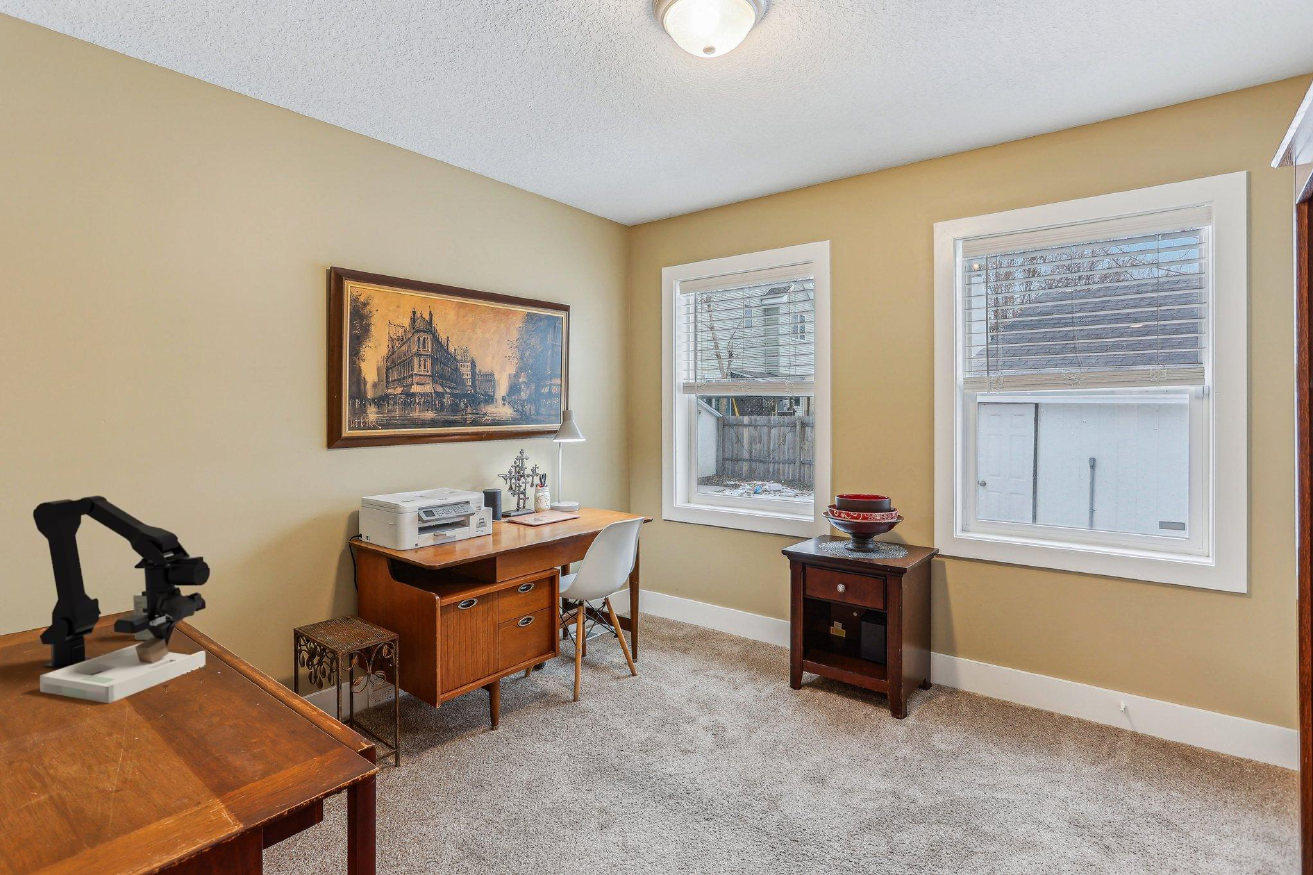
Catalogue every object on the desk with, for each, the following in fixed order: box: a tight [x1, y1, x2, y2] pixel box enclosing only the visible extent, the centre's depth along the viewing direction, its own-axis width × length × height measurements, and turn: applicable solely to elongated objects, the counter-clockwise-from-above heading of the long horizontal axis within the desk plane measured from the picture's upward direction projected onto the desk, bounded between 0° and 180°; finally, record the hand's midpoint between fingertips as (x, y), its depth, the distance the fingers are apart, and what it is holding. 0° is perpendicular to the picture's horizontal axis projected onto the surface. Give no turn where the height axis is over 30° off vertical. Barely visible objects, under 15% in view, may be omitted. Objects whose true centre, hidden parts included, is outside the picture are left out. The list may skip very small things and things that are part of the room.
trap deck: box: [39, 642, 206, 704], centre depth 152 cm, size 20×22×4 cm
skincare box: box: [132, 592, 158, 641], centre depth 179 cm, size 6×4×12 cm
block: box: [135, 637, 169, 664], centre depth 157 cm, size 4×4×4 cm
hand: (164, 648), depth 160 cm, fingers closed
